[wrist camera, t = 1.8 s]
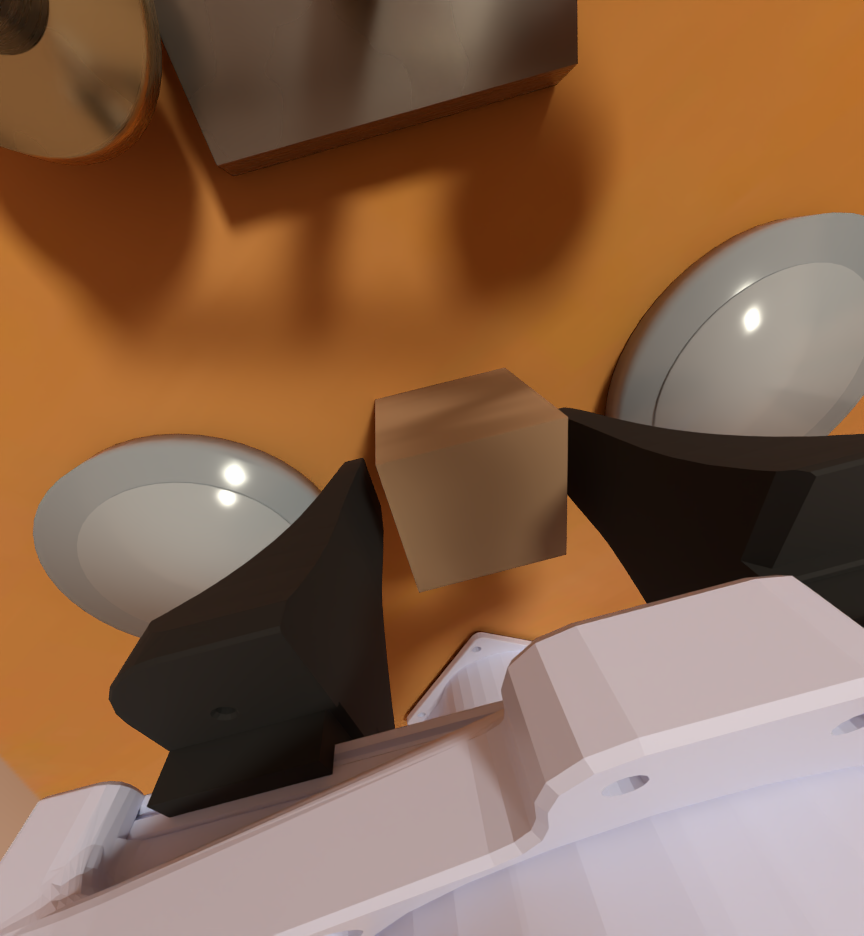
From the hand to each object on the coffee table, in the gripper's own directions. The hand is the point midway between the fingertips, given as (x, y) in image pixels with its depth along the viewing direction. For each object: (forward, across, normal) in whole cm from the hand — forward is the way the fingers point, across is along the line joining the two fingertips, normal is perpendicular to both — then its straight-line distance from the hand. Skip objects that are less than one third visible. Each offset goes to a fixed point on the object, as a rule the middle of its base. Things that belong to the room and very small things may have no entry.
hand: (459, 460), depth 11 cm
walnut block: (+2, 0, 0) cm, 2 cm away
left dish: (+1, +10, +2) cm, 10 cm away
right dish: (+1, -11, 0) cm, 11 cm away
